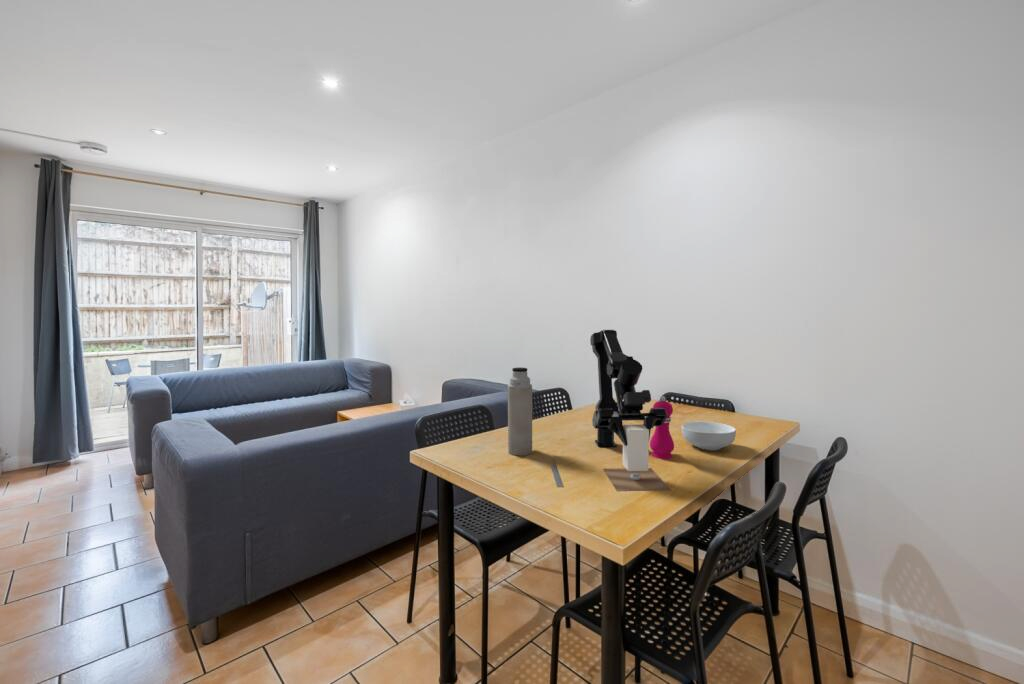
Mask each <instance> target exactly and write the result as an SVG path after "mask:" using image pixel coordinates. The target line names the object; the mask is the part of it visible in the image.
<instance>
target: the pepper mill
mask: <svg viewBox="0 0 1024 684" xmlns="http://www.w3.org/2000/svg"><path fill="white" fill-rule="evenodd" d="M666 399H667V398H666V396H664V395H662V396H660V397H659V400H658V401H656V402H655V403H654V404H653V406H652V408H664V409H665V410H666V412H667V415H668V416H667V418H666V420H665V422H664V424H663V425H662V426H655V429H654V433H653V434H652V436H651V438H650V440H649V447H650V449H651V456H652V457H653V458H656V459H659V460H660V459H662V460H669V459H672V458H673V454H672V452H673V451H674V450H675V444H674V440H673V438H672V435H671V431H670V423H671V421H672V420H671V419H672V417H671V415H672V414H673V411H674V407H673V406H672V404H671V402H669V401H666Z"/></svg>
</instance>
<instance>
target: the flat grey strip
mask: <svg viewBox="0 0 1024 684" xmlns="http://www.w3.org/2000/svg"><path fill="white" fill-rule="evenodd" d="M550 467H551V468H550V469H551V472H552V475H553V478H554V482H555V484H556V487H557V488H564V487H565V485H564V484H563V481H562V478H561V475H560V472H559V468H558V466H557V465H550Z"/></svg>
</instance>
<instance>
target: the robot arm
mask: <svg viewBox="0 0 1024 684" xmlns="http://www.w3.org/2000/svg"><path fill="white" fill-rule="evenodd" d="M590 346H592V347H591V348H592V349H591V350H592V353H593V354H594V355H595V357H596V358H597V372H598V374H597V375H598V389H599V390H598V392H599V400H598V401H597V403H596V405H595V410H594V412H593V415H592V419H591V420H592V427H593V428H594V429H597V432H596V433H597V434H596V435H597V436H596V437H597V438H596V439H594V443H595V445H597V447H598V448H599V447H600V448H602V447H603V448H605V447H608V448H609V447H613V448H614V447H616V448H617V447H618V444H617V443H616V442H615V435H616V436H617V437H618V438H619V440H620V441H621V442H622V445H623V444H624V445H625V446H627V439H626V435H625V431H624V428H623V425H624V424H623V421H626V422H627V421H642V423H643V424H642V425H644V426H645V427H646V428H647V429H648V430H649V440H651V438H650V437H651V429H654V427H656V426H662V425H663V424H664V422H665V420H666V418H667V416H668V415H667V412H666V410H665V409H664V408H653V407H651V408H650V409H649V412H641V411H643V409H644V405H646V404H647V403H650V402H651V401H652V395H651V394H652V393H651V392H650V389H643V390H642V391H636V387H635V386H636V385H637V384H638V382H639V379H640V377H641V374H642V372H643V365H642V364H641V363H640V362H639V361H638V360H636V359H634V357H633V356H630V355H626V354H625V353H624V352H623V349H622V347H621V345H620V342H619V339H618V332H617V330H615V329H602V330H600V331H598V332H597V331H596V332H594V333H592V334H591V336H590ZM613 379H615V380H614V382H613ZM613 388H614V392H615V397H616V398H615V399H616V400H615V399H614V395H613V393H614V392H613Z"/></svg>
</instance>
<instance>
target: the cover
mask: <svg viewBox="0 0 1024 684" xmlns="http://www.w3.org/2000/svg"><path fill="white" fill-rule="evenodd" d="M623 428H624V431H625V435H626V439H627V446H625V445H624V444H623V443H622V466H624V468H626V469H627V470H628V471H648V468H649V454H650V453H649V451H650V448H649V447H650V439H649V430H648V429H647V428H646V427H645V426H644V425H643V424H623Z"/></svg>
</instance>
